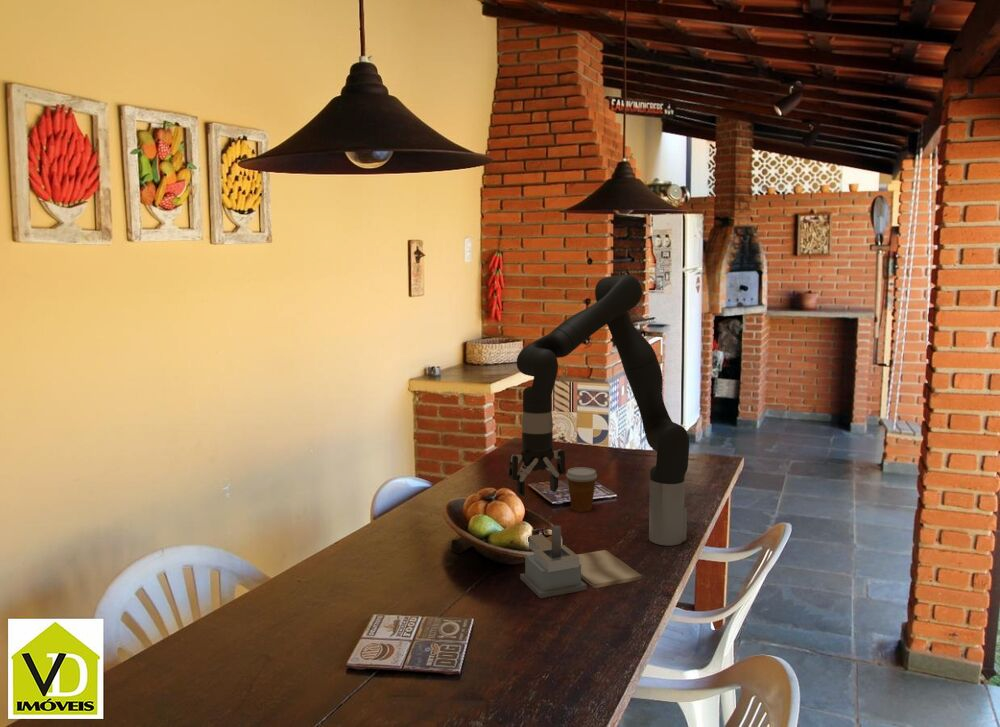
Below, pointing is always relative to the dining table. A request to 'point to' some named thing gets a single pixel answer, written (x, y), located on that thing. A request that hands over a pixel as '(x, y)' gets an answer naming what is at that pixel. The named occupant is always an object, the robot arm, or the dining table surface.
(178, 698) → the dining table surface
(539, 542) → the beige stepped block
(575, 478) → the disposable coffee cup
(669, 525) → the robot arm
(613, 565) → the folded beige cloth
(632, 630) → the dining table surface
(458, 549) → the hand tool
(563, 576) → the block with upright post
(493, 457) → the dining table surface
